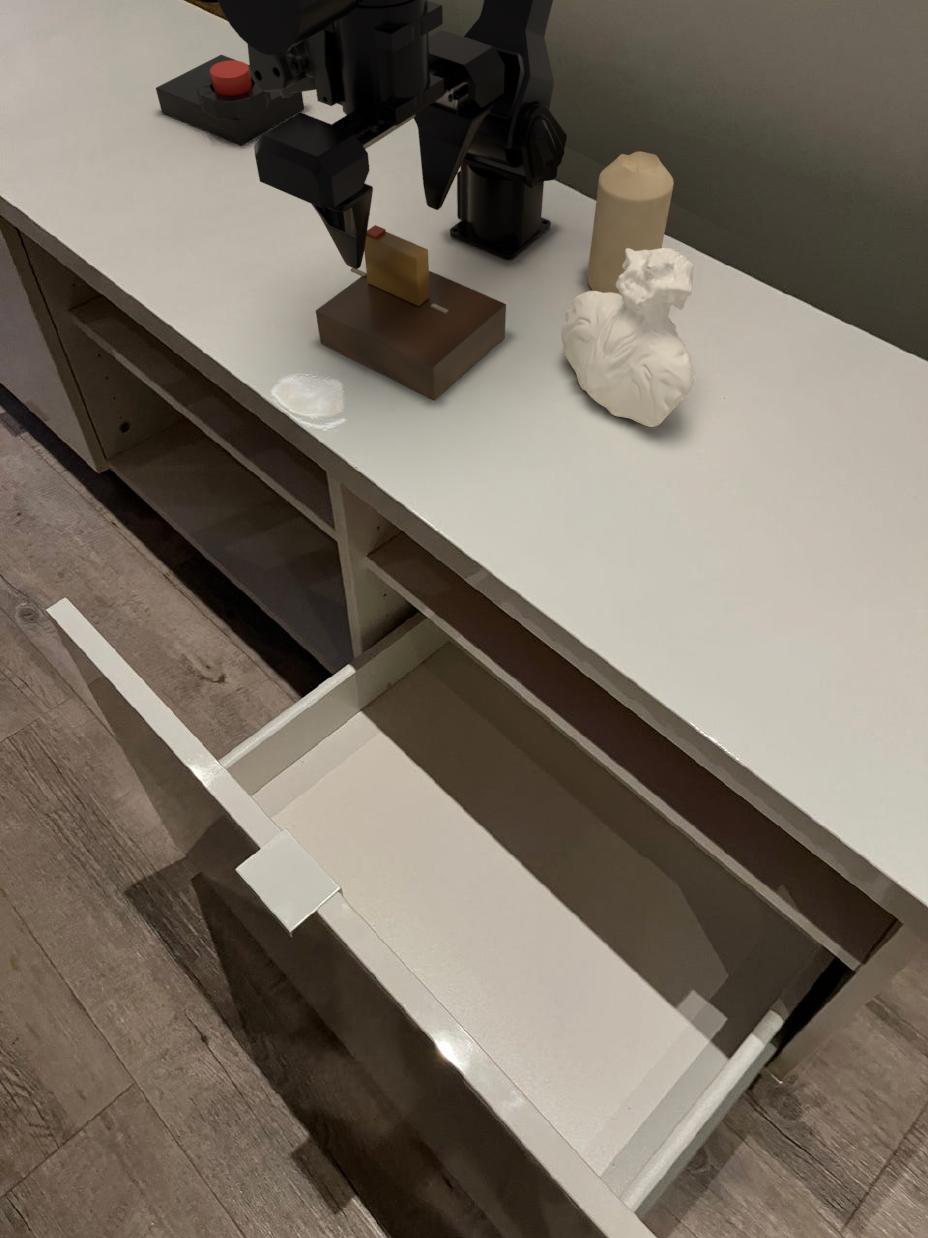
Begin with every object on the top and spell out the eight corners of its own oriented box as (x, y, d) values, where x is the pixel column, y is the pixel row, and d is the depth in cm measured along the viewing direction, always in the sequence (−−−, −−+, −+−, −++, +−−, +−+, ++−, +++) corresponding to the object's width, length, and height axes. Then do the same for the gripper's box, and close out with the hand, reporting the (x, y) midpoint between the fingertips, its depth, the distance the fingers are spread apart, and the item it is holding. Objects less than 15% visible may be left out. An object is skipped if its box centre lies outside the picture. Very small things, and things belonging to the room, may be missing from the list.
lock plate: (505, 337, 71) (506, 301, 68) (434, 400, 67) (433, 365, 64) (383, 282, 75) (380, 246, 73) (309, 338, 71) (303, 303, 68)
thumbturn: (430, 297, 69) (428, 245, 66) (418, 306, 68) (416, 254, 65) (378, 274, 71) (374, 222, 67) (367, 283, 70) (361, 231, 67)
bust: (677, 455, 66) (779, 316, 62) (623, 441, 61) (730, 286, 56) (572, 367, 72) (657, 233, 67) (514, 346, 66) (602, 198, 62)
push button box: (310, 111, 92) (304, 68, 89) (241, 151, 88) (232, 107, 84) (226, 78, 96) (217, 36, 93) (156, 115, 92) (144, 72, 88)
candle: (632, 310, 73) (653, 188, 65) (573, 285, 75) (587, 163, 67) (667, 277, 76) (691, 156, 67) (609, 254, 77) (626, 133, 69)
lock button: (260, 86, 87) (256, 66, 86) (233, 101, 86) (229, 81, 84) (233, 75, 89) (229, 56, 87) (205, 90, 87) (201, 70, 86)
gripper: (373, -90, 61) (389, 148, 73) (161, 7, 52) (221, 258, 64) (513, -52, 57) (504, 192, 69) (309, 61, 48) (342, 316, 61)
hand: (394, 235), depth 66 cm, fingers open, 9 cm apart
